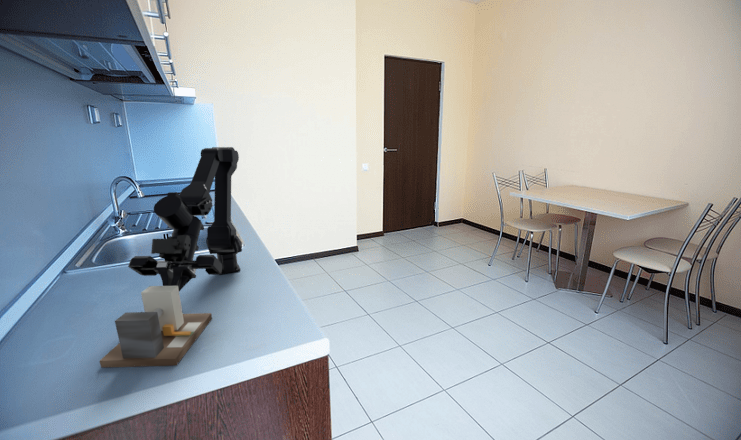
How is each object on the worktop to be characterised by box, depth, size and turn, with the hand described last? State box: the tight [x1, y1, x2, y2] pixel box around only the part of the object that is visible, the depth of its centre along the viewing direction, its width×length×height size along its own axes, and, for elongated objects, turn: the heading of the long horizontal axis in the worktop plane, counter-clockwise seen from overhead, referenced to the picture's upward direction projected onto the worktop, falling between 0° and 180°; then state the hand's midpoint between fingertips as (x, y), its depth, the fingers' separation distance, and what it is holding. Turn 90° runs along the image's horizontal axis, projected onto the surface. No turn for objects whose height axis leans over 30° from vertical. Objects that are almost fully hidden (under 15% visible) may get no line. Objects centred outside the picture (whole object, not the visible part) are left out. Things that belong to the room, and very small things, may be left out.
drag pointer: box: [162, 324, 191, 336], centre depth 71 cm, size 1×5×2 cm, turn 92°
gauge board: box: [99, 311, 213, 369], centre depth 71 cm, size 16×14×10 cm
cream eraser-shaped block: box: [140, 285, 184, 331], centre depth 71 cm, size 7×6×9 cm
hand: (167, 301), depth 74 cm, fingers closed, pressing on cream eraser-shaped block
